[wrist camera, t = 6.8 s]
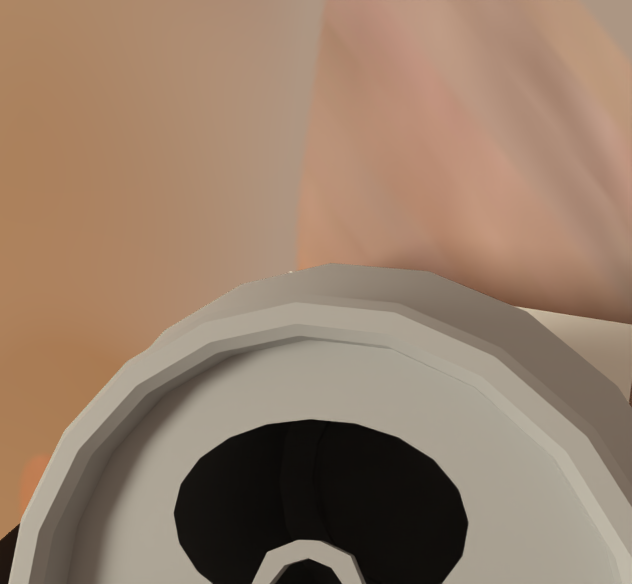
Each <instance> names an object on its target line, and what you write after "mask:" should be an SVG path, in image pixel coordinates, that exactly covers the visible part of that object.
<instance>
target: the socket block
mask: <svg viewBox="0 0 632 584" xmlns="http://www.w3.org/2000/svg"><path fill="white" fill-rule="evenodd" d="M289 273H291V271H290V272H289ZM514 307H516V306H514ZM517 308H519V309H522V310H524V311H527V312H528V313H529V314H531V315H532V316H533V317H534V318H535V319H537V320H538V321H539V322H540V323H541V324H543V325H544V326H545V327H546V328H548V329H549V330H550V331H551V332H552V333H554V334H555V335H556V336H557V337H558V338H560V339H561V340H562V341H563V342H564V343H566V344H567V345H568V346H569V347H571V348H572V349H573V350H574V351H575V352H577V353H578V354H579V355H580V356H581V357H583V358H584V359H585V360H586V361H588V362H589V363H590V364H591V365H592V366H594V367H595V368H596V369H597V370H598V371H600V372H601V373H602V374H603V375H605V376H606V377H607V378H608V379H609V380H611V381H612V382H613V383H614V384H615V385H617V386H618V388H619V389H620V391H621V392H622V394H623V395H624V397H625V398H626V400H627V401H628V403H629V399H630V391H631V384H632V325H631V324H625V323H618V322H612V321H606V320H599V319H593V318H586V317H580V316H573V315H567V314H561V313H554V312H548V311H541V310H535V309H529V308H522V307H517Z"/></svg>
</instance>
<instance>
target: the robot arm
mask: <svg viewBox="0 0 632 584" xmlns="http://www.w3.org/2000/svg"><path fill="white" fill-rule="evenodd" d="M19 528H20V524H18V525H17V526H16V527H15V528H14V529H13V530H12V531H11V532H9V533H8V534H7V535H6V536H5V537H4V538H2V539H1V540H0V584H8V583H9V578H10V573H11V568H12V563H13V558H14V553H15V548H16V543H17V538H18V533H19Z"/></svg>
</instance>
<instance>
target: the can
mask: <svg viewBox="0 0 632 584" xmlns="http://www.w3.org/2000/svg"><path fill="white" fill-rule="evenodd" d="M8 584H632V407H631V406H630V404H629V403H628V401H627V400H626V398H625V397H624V395H623V394H622V392H621V391H620V389H619V388H618V386H617V385H615V384H614V383H613V382H612V381H611V380H609V379H608V378H607V377H606V376H605V375H603V374H602V373H601V372H600V371H598V370H597V369H596V368H595V367H594V366H592V365H591V364H590V363H589V362H588V361H586V360H585V359H584V358H583V357H581V356H580V355H579V354H578V353H577V352H575V351H574V350H573V349H572V348H571V347H569V346H568V345H567V344H566V343H564V342H563V341H562V340H561V339H560V338H558V337H557V336H556V335H555V334H554V333H552V332H551V331H550V330H549V329H548V328H546V327H545V326H544V325H543V324H541V323H540V322H539V321H538V320H537V319H535V318H534V317H533V316H532V315H531V314H529V313H528V312H527V311H524V310H522V309H519V308H517V307H514V306H512V305H510V304H507V303H505V302H502V301H500V300H497V299H495V298H492V297H490V296H488V295H485V294H483V293H480V292H478V291H475V290H473V289H471V288H468V287H466V286H463V285H461V284H458V283H456V282H454V281H451V280H449V279H446V278H444V277H441V276H439V275H437V274H434V273H432V272H429V271H420V270H408V269H396V268H384V267H371V266H359V265H347V264H335V263H330V264H325V265H321V266H317V267H313V268H308V269H304V270H300V271H295V272H291V273H287V274H283V275H279V276H274V277H270V278H266V279H262V280H257V281H253V282H249V283H245V284H241V285H239V286H238V287H236V288H234V289H233V290H231V291H229V292H228V293H226V294H224V295H223V296H221V297H220V298H218V299H216V300H214V301H213V302H211V303H209V304H208V305H206V306H205V307H203V308H201V309H199V310H198V311H196V312H194V313H193V314H191V315H190V316H188V317H186V318H184V319H183V320H181V321H180V322H178V323H176V324H174V325H173V326H171V327H169V328H168V329H166V330H165V331H164V332H163V333H162V334H161V335H160V336H159V337H158V338H157V339H156V341H155V342H154V343H153V344H152V345H151V346H150V347H149V348H148V349H147V350H145V351H144V352H142V353H140V354H139V355H137V356H135V357H134V358H132V359H130V360H129V361H127V362H126V363H125V364H124V365H123V366H122V367H121V369H120V370H119V371H118V372H117V373H116V374H115V375H114V376H113V377H112V379H111V380H110V381H109V382H108V383H107V384H106V385H105V387H103V389H102V390H101V391H100V392H99V393H98V394H97V395H96V396H95V398H94V399H93V400H92V401H91V402H90V403H89V404H88V405H87V406H86V407H85V409H84V410H83V411H82V412H81V413H80V414H79V415H78V417H77V418H76V419H75V420H74V421H73V422H72V423H71V424H70V425H69V426H68V427H67V429H66V430H65V431H64V433H63V435H62V437H61V439H60V441H59V443H58V445H57V447H56V449H55V451H54V453H53V455H52V457H51V459H50V461H49V463H48V465H47V467H46V469H45V471H44V474H43V476H42V478H41V480H40V482H39V484H38V486H37V488H36V490H35V492H34V494H33V496H32V498H31V500H30V502H29V504H28V506H27V508H26V510H25V512H24V514H23V516H22V519H21V523H20V528H19V533H18V538H17V543H16V548H15V553H14V558H13V563H12V568H11V573H10V578H9V583H8Z"/></svg>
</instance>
